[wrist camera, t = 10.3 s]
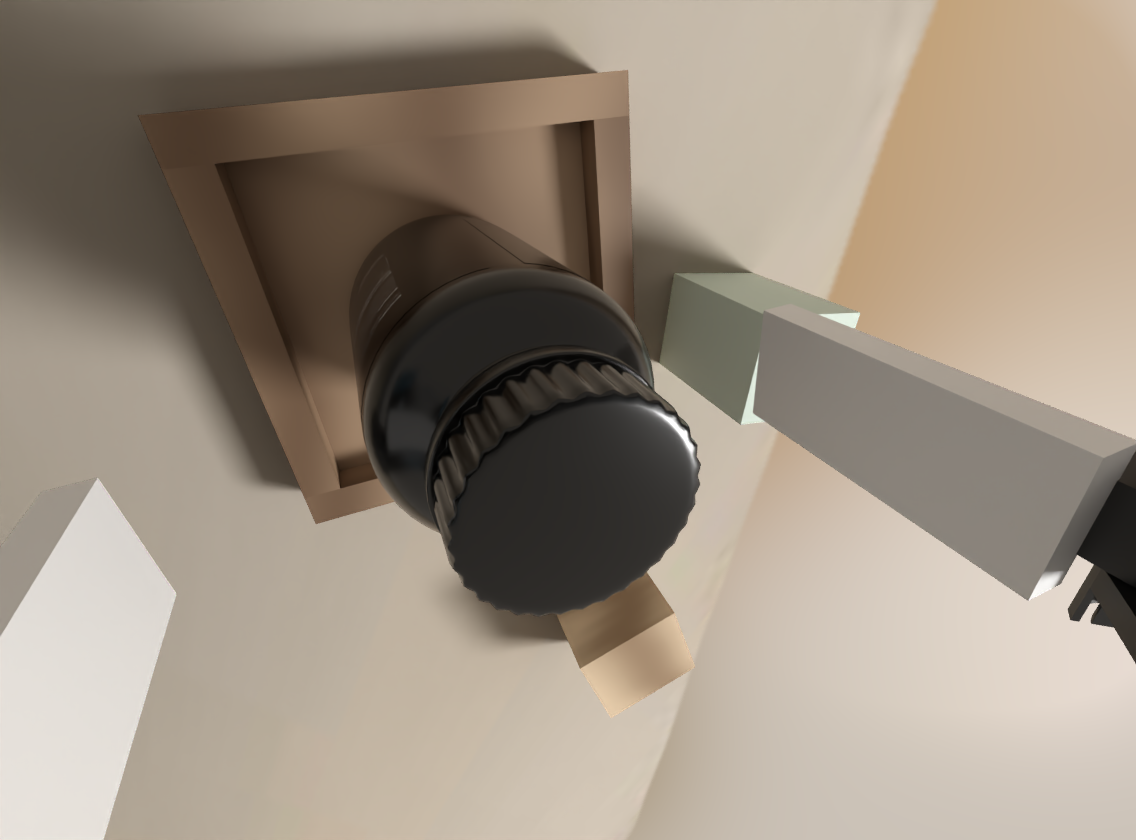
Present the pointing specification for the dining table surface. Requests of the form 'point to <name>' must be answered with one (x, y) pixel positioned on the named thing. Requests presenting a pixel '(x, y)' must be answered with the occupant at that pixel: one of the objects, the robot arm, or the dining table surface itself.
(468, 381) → the supplement bottle
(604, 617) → the oak block
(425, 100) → the walnut tray
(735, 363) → the sage cube
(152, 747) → the dining table surface
